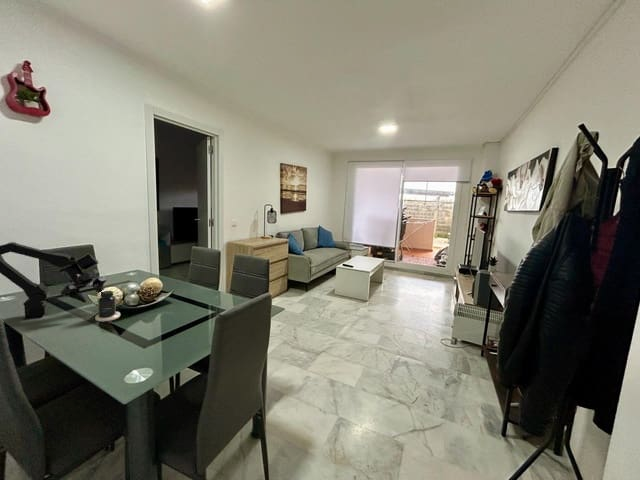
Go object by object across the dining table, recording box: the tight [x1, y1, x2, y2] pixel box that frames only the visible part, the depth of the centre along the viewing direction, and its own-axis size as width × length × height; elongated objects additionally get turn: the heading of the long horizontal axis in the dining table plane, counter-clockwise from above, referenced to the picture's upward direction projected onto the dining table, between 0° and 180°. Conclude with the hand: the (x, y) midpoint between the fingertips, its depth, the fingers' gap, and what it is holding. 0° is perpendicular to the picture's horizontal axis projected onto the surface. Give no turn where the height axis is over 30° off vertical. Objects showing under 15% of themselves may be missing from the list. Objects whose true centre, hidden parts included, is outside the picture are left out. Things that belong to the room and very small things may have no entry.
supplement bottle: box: [97, 290, 117, 317], centre depth 135 cm, size 7×7×12 cm
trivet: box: [95, 311, 121, 322], centre depth 136 cm, size 10×10×1 cm
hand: (94, 299), depth 136 cm, fingers open, 9 cm apart
